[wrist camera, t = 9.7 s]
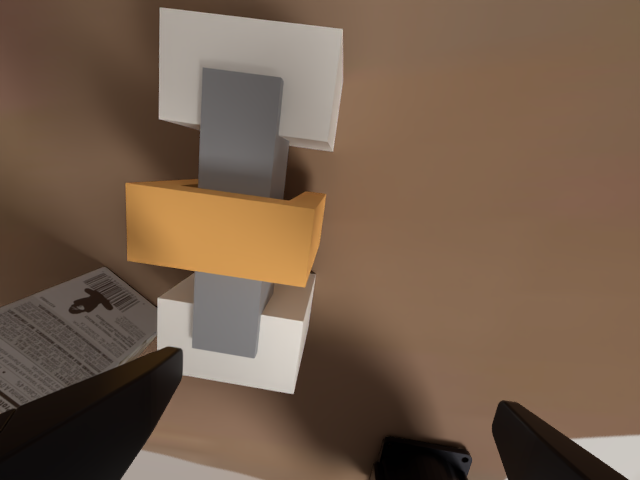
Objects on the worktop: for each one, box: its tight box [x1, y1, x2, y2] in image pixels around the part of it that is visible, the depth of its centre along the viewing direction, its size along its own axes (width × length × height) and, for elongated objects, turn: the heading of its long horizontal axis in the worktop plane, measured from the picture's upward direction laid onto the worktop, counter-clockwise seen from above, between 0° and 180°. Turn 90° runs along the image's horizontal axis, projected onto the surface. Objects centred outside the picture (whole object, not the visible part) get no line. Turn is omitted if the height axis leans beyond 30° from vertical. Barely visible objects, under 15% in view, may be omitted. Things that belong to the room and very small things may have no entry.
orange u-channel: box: [126, 179, 326, 288], centre depth 14 cm, size 7×3×7 cm, turn 83°
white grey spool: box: [157, 7, 343, 394], centre depth 16 cm, size 16×7×7 cm, turn 172°
